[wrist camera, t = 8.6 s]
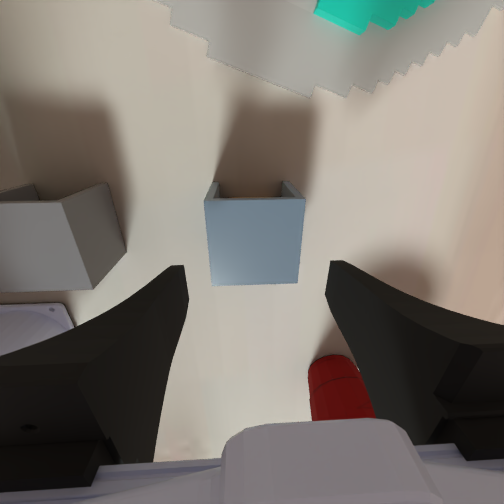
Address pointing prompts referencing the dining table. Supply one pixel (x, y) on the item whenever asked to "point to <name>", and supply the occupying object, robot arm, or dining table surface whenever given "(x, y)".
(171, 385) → the dining table surface
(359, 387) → the plastic cup
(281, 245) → the cover
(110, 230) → the cover
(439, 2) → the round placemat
